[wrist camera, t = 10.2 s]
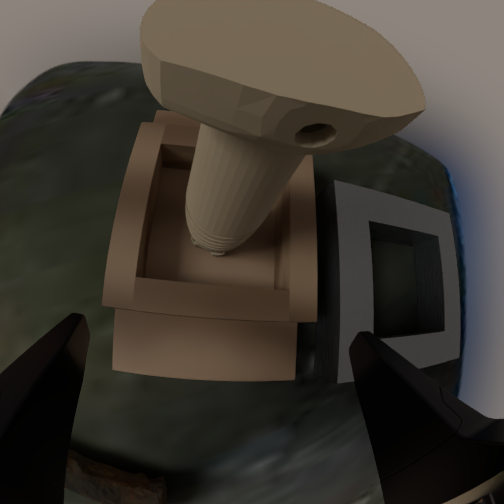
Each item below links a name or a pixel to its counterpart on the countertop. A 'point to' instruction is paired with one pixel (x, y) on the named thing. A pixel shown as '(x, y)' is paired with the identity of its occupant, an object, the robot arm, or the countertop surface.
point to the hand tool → (112, 483)
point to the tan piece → (205, 272)
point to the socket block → (361, 276)
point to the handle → (268, 98)
